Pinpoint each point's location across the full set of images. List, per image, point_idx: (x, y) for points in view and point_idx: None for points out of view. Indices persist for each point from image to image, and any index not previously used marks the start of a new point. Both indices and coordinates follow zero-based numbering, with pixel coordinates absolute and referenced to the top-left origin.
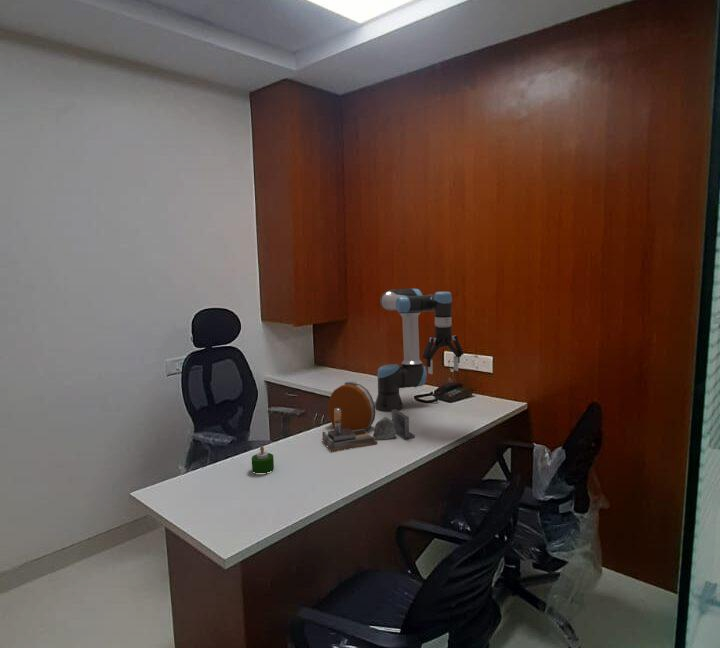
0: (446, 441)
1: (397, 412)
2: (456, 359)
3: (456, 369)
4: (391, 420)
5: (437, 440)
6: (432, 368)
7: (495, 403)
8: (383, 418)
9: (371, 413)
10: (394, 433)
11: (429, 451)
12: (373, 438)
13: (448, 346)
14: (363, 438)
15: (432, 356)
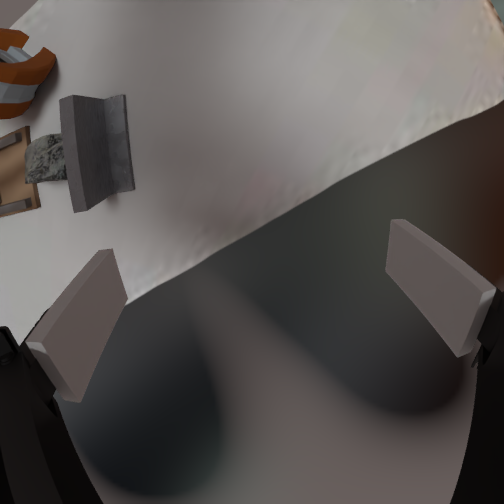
0: (213, 243)
1: (65, 140)
2: (445, 331)
3: (392, 271)
4: (55, 156)
5: (191, 228)
6: (109, 332)
7: (485, 43)
8: (31, 155)
9: (13, 103)
10: None
11: (145, 289)
12: (25, 208)
13: (493, 484)
14: (7, 208)
15: (65, 436)
